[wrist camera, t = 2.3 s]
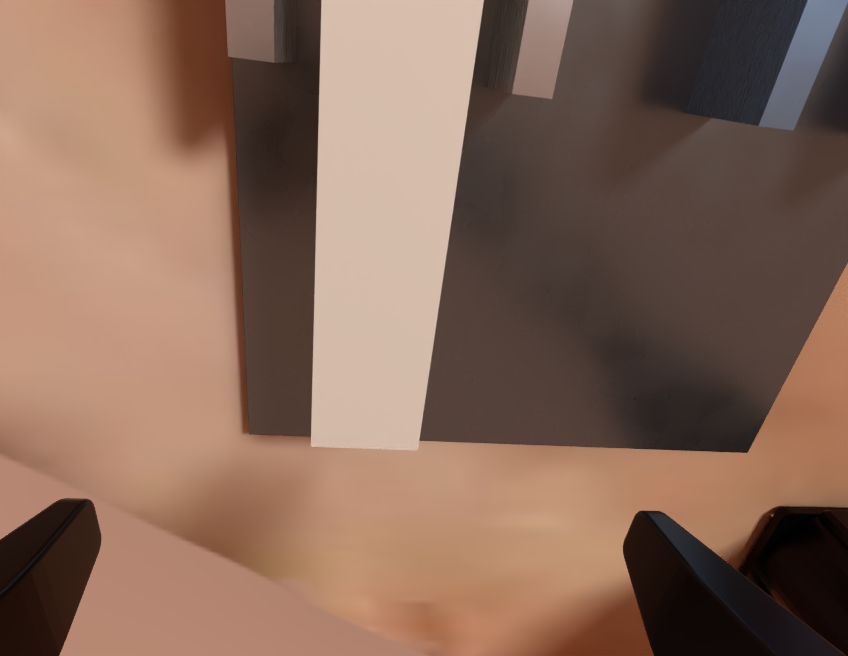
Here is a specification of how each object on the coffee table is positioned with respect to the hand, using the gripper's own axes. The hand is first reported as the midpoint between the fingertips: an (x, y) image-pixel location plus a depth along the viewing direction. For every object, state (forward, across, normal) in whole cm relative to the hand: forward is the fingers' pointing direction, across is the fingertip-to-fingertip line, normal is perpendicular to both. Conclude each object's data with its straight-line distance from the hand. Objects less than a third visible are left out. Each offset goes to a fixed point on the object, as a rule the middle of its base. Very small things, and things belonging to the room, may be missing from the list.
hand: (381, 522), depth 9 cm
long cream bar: (+10, 0, -4) cm, 11 cm away
